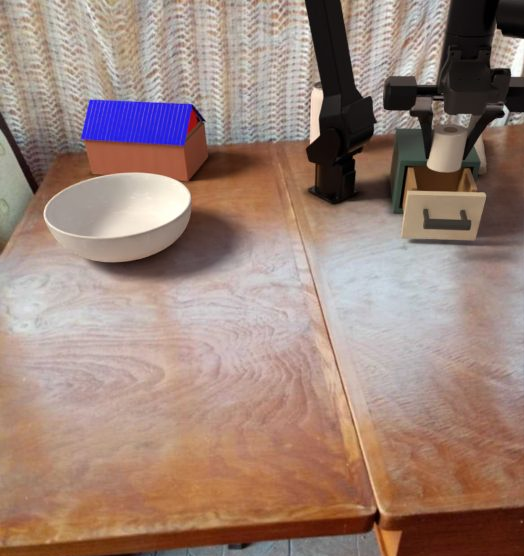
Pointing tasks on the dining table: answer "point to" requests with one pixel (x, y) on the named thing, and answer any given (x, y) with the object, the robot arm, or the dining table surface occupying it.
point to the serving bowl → (119, 216)
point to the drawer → (440, 204)
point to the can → (315, 111)
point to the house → (144, 138)
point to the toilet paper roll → (447, 147)
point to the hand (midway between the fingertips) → (444, 158)
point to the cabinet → (416, 161)
